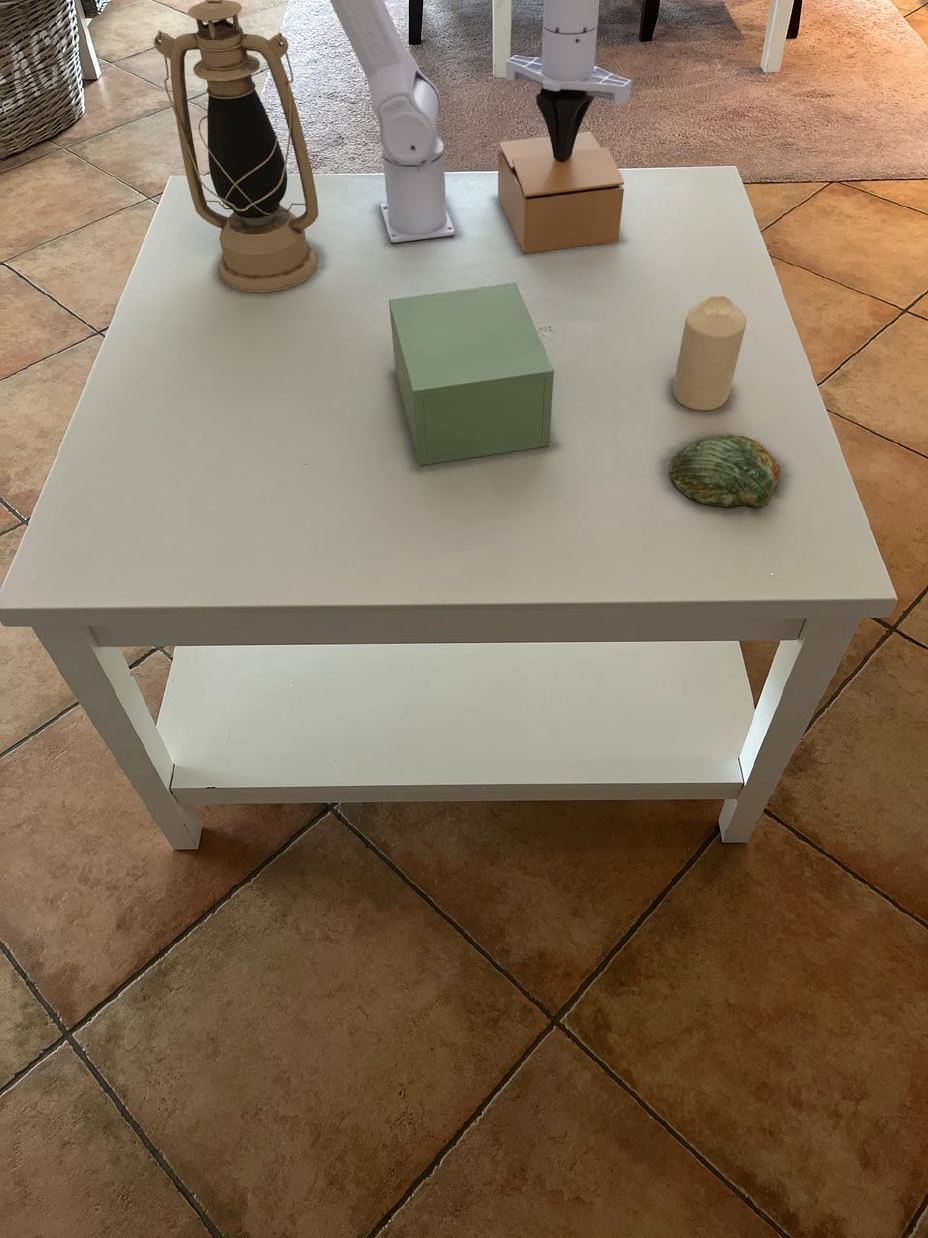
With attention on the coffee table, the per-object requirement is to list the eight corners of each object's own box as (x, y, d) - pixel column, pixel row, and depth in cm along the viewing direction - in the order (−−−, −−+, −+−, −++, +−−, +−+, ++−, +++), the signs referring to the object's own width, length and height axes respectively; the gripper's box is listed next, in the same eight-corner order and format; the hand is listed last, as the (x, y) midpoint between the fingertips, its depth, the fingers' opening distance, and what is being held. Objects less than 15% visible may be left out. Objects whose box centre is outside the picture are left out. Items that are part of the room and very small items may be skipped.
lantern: (194, 289, 106) (108, -12, 82) (223, 236, 113) (152, -54, 90) (316, 295, 104) (265, -10, 81) (337, 241, 112) (296, -53, 88)
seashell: (747, 393, 84) (815, 459, 79) (741, 427, 88) (805, 493, 82) (653, 430, 83) (714, 500, 77) (650, 463, 86) (709, 533, 80)
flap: (623, 184, 105) (624, 182, 105) (524, 196, 104) (525, 194, 103) (607, 148, 108) (608, 146, 108) (511, 160, 107) (511, 157, 107)
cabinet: (395, 373, 95) (388, 299, 88) (514, 357, 96) (515, 282, 89) (419, 466, 86) (412, 391, 79) (549, 446, 87) (554, 370, 80)
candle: (727, 413, 89) (749, 324, 82) (670, 407, 90) (687, 318, 82) (729, 379, 93) (750, 290, 85) (674, 374, 93) (690, 285, 86)
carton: (618, 241, 110) (624, 182, 105) (523, 253, 109) (524, 194, 103) (586, 187, 119) (590, 130, 113) (497, 198, 117) (498, 141, 112)
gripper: (491, 24, 97) (491, 155, 107) (615, 49, 91) (602, 185, 102) (525, 3, 100) (522, 132, 111) (645, 26, 95) (630, 159, 106)
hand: (562, 156), depth 107 cm, fingers closed
